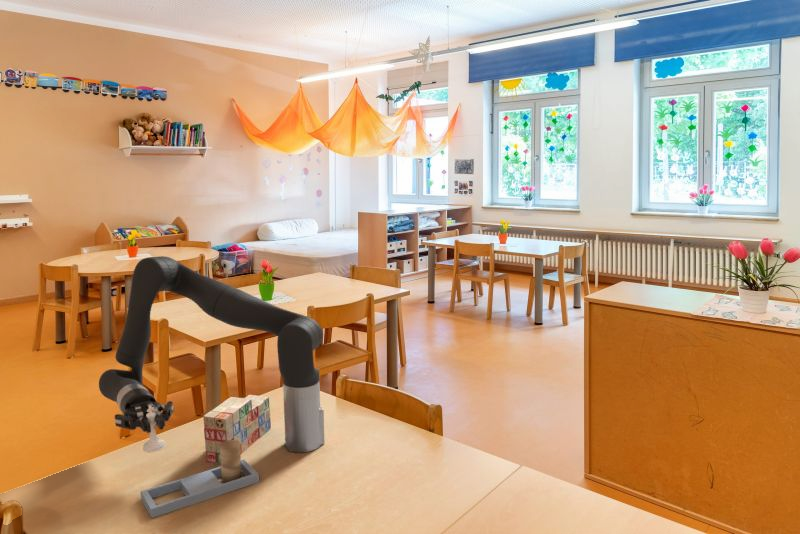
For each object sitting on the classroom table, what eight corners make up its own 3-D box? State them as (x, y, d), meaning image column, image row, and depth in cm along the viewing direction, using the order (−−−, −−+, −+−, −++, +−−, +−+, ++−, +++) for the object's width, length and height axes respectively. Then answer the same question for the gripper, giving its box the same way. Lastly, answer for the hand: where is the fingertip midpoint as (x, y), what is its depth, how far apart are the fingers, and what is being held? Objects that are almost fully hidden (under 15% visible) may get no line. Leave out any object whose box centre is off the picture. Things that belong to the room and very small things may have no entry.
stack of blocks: (251, 425, 168) (248, 383, 165) (271, 428, 166) (269, 386, 164) (205, 462, 147) (202, 415, 145) (228, 466, 146) (225, 418, 143)
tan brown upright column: (237, 473, 142) (235, 438, 140) (244, 481, 138) (242, 445, 137) (219, 479, 139) (216, 443, 138) (226, 487, 136) (223, 450, 134)
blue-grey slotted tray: (244, 466, 145) (244, 459, 145) (258, 481, 138) (258, 473, 138) (141, 499, 131) (140, 491, 131) (151, 518, 124) (151, 509, 124)
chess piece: (137, 450, 136) (133, 408, 135) (153, 440, 141) (149, 400, 139) (154, 453, 135) (150, 411, 133) (170, 444, 139) (166, 403, 137)
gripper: (103, 395, 143) (120, 419, 130) (163, 381, 151) (185, 403, 138) (107, 424, 145) (123, 452, 131) (166, 409, 153) (188, 433, 139)
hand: (155, 426), depth 134 cm, fingers closed on chess piece
